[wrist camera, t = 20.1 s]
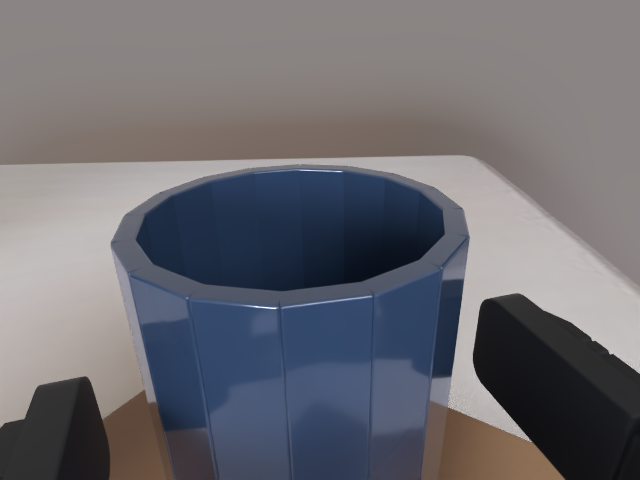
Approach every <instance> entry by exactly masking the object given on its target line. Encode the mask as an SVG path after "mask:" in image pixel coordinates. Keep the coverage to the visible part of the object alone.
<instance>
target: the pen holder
mask: <svg viewBox="0 0 640 480" xmlns="http://www.w3.org/2000/svg"><path fill="white" fill-rule="evenodd" d="M469 239H470V237H469V232H468V227H467V223H466V218H465V213H464V210H463V209H462V208H461V207H460V206H459V205H457V204H456V203H455V202H454V201H452V200H451V199H450V198H448V197H447V196H446V195H444V194H443V193H442V192H440V191H439V190H438V189H436V188H434V187H432V186H429V185H426V184H423V183H420V182H417V181H415V180H412V179H409V178H406V177H403V176H400V175H397V174H394V173H388V172H382V171H376V170H370V169H364V168H358V167H351V166H350V167H348V166H333V165H305V164H301V165H299V164H297V165H284V166H271V167H257V168H251V169H250V168H248V169H243V170H238V171H233V172H227V173H222V174H217V175H212V176H207V177H203V178H199V179H196V180H194V181H191V182H188V183H185V184H182V185H180V186H177V187H174V188H171V189H168V190H166V191H163V192H160V193H159V194H156V195H154V196H153V197H151V198H150V199H148V200H147V201H145V202H144V203H142V204H141V205H139V206H138V207H136V208H135V209H133V210H132V211H130V212H129V213H127V214H126V215H125V216H124V217H123V219H122V221H121V223H120V225H119V227H118V229H117V231H116V233H115V235H114V237H113V239H112V241H111V250H112V255H113V259H114V263H115V267H116V271H117V275H118V280H119V284H120V288H121V292H122V296H123V301H124V305H125V309H126V313H127V317H128V321H129V326H130V330H131V334H132V338H133V342H134V346H135V351H136V355H137V359H138V363H139V367H140V372H141V376H142V380H143V384H144V388H145V392H146V397H147V401H148V405H149V409H150V413H151V417H152V422H153V426H154V430H155V434H156V438H157V443H158V447H159V451H160V455H161V459H162V463H163V468H164V472H165V476H166V480H438V478H439V470H440V462H441V455H442V447H443V439H444V431H445V424H446V416H447V408H448V401H449V393H450V385H451V378H452V370H453V362H454V354H455V347H456V339H457V331H458V324H459V316H460V308H461V301H462V293H463V285H464V277H465V270H466V262H467V254H468V247H469Z"/></svg>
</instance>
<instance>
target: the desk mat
mask: <svg viewBox="0 0 640 480" xmlns="http://www.w3.org/2000/svg"><path fill="white" fill-rule="evenodd" d="M102 421H103V424H104V428H105V431H106V434H107V438H108V442H109V449H110V476H109V480H166V476H165V472H164V468H163V463H162V459H161V455H160V451H159V447H158V443H157V438H156V434H155V430H154V426H153V422H152V417H151V413H150V409H149V405H148V401H147V397H146V392H145V390H143V391H142V392H141V393H139V394H138V395H136V396H135V397H134V398H132V399H131V400H130V401H128V402H127V403H125V404H124V405H123V406H121V407H120V408H119V409H117V410H116V411H114V412H113V413H112V414H110V415H109V416H107V417H106V418H105V419H103V420H102ZM438 480H565V479H564V478H563V477H562V475H561V474H560V473H559V472H558V471H557V470H556V469H555V467H554V466H553V465H552V464H551V463H550V462H549V460H548V459H547V458H546V457H545V456H544V455H543V454H542V452H541V451H540V450H539V449H538V448H537V447H536V445H535V444H534V443H532V442H529V441H527V440H524V439H522V438H520V437H517V436H515V435H512V434H510V433H508V432H505V431H503V430H501V429H498V428H496V427H493V426H491V425H489V424H486V423H484V422H481V421H479V420H477V419H474V418H472V417H469V416H467V415H465V414H462V413H460V412H458V411H455V410H453V409H450V408H447V416H446V424H445V431H444V439H443V447H442V455H441V462H440V470H439V478H438Z"/></svg>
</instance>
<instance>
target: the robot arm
mask: <svg viewBox="0 0 640 480" xmlns="http://www.w3.org/2000/svg"><path fill="white" fill-rule="evenodd" d="M473 364H474V368H475V372H476V374H477V376H478V378H479V380H480V382H481V383H482V384H483V386H484V387H485V388H486V389H487V390H488V391H489V392H490V394H491V395H492V396H493V397H494V398H495V399H496V401H497V402H498V403H499V404H500V405H501V406H502V407H503V409H504V410H505V411H506V412H507V413H508V414H509V415H510V417H511V418H512V419H513V420H514V421H515V422H516V424H517V425H518V426H519V427H520V428H521V429H522V430H523V432H524V433H525V434H526V435H527V436H528V437H529V439H530V440H531V441H532V442H533V443H534V444H535V445H536V447H537V448H538V449H539V450H540V451H541V452H542V454H543V455H544V456H545V457H546V458H547V459H548V460H549V462H550V463H551V464H552V465H553V466H554V467H555V469H556V470H557V471H558V472H559V473H560V474H561V475H562V477H563V478H564V479H565V480H640V374H639V373H638V372H636V371H635V370H634V369H632V368H631V367H630V366H628V365H627V364H626V363H624V362H623V361H622V360H620V359H619V358H618V357H616V356H615V355H614V354H611V355H610V354H609V352H608V350H607V349H606V348H604V347H603V346H602V345H600V344H599V343H597V342H596V341H592V340H591V337H589V336H588V335H587V334H585V333H584V332H583V331H581V330H580V329H579V328H577V327H576V326H575V325H573V324H572V323H571V322H568V321H566V320H564V319H562V318H559V317H557V316H555V315H553V314H551V313H548V312H546V311H543V310H542V309H541V308H539V307H538V306H537V305H535V304H534V303H533V302H532V301H530V300H529V299H528V298H526V297H525V296H523V295H521V294H518V293H516V294H510V295H505V296H500V297H495V298H490V299H486V300H484V301H483V302H482V304H481V306H480V311H479V318H478V324H477V331H476V338H475V344H474V351H473ZM109 476H110V449H109V442H108V438H107V434H106V431H105V428H104V424H103V421H102V418H101V414H100V411H99V408H98V404H97V401H96V398H95V394H94V391H93V388H92V385H91V382H90V380H89V378H88V377H86V376H84V377H79V378H74V379H69V380H64V381H59V382H54V383H48V384H43V385H39V386H38V387H37V389H36V390H35V393H34V395H33V398H32V401H31V403H30V406H29V409H28V411H27V414H26V417H25V419H23V420H18V421H13V422H9V423H5V424H4V425H3V426H2V427H1V428H0V480H109Z"/></svg>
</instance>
